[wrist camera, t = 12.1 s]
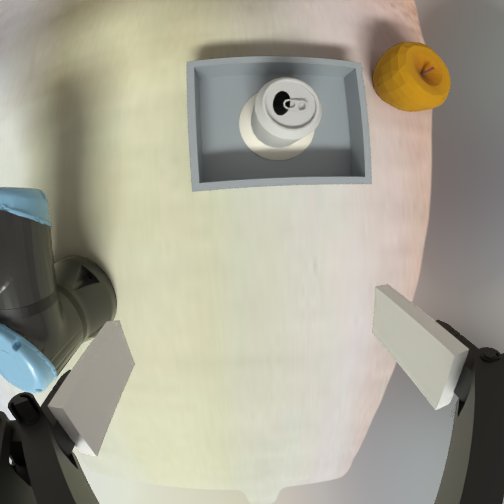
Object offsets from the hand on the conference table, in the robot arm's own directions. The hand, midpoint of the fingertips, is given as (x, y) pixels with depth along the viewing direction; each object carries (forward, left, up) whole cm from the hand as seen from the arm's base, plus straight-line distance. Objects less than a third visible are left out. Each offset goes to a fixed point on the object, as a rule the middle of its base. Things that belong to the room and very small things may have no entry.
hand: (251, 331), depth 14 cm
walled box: (+6, +15, -30) cm, 34 cm away
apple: (+26, +22, -31) cm, 46 cm away
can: (+6, +15, -29) cm, 33 cm away
